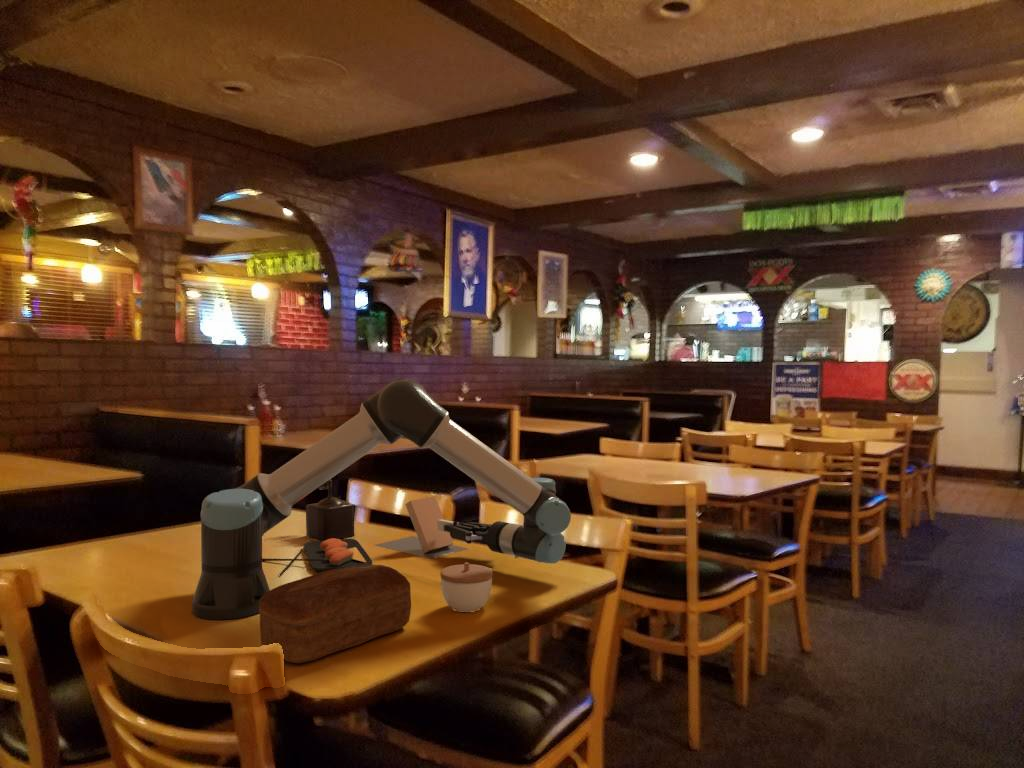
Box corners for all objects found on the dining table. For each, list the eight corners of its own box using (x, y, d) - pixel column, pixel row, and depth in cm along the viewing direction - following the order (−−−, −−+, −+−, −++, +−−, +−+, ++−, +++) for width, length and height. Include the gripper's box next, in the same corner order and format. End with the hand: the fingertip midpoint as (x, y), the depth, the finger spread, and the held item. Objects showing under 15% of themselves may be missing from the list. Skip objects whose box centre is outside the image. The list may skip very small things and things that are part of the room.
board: (468, 552, 198) (468, 548, 198) (431, 562, 187) (431, 558, 187) (412, 539, 212) (412, 536, 212) (374, 548, 201) (374, 544, 201)
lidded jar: (465, 596, 160) (465, 553, 160) (502, 607, 153) (503, 562, 153) (429, 609, 152) (429, 563, 151) (467, 620, 145) (468, 573, 145)
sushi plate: (374, 571, 180) (375, 556, 180) (244, 584, 170) (244, 567, 169) (355, 544, 207) (355, 531, 207) (241, 553, 197) (241, 539, 197)
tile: (453, 543, 198) (434, 496, 202) (429, 549, 191) (410, 500, 195) (448, 547, 199) (429, 499, 204) (424, 553, 192) (405, 504, 197)
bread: (246, 653, 128) (246, 583, 127) (373, 612, 150) (373, 552, 149) (293, 675, 119) (293, 600, 119) (421, 628, 141) (421, 564, 140)
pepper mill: (357, 536, 216) (357, 474, 215) (324, 542, 208) (324, 478, 208) (328, 527, 227) (328, 469, 226) (296, 533, 219) (296, 472, 218)
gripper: (489, 559, 176) (421, 543, 191) (524, 548, 186) (456, 534, 201) (490, 527, 175) (421, 514, 190) (524, 519, 185) (456, 507, 200)
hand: (439, 524), depth 196 cm, fingers closed
